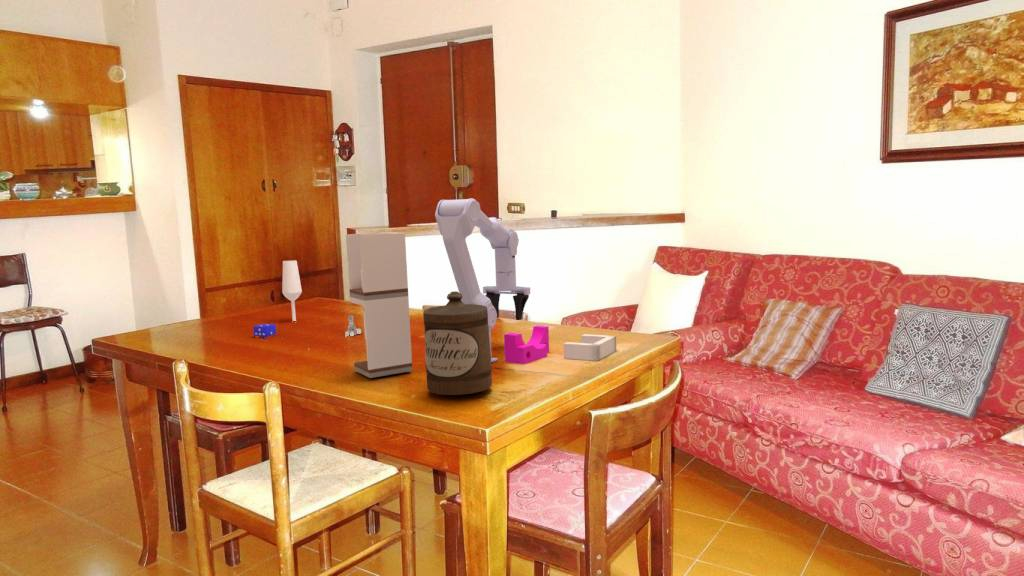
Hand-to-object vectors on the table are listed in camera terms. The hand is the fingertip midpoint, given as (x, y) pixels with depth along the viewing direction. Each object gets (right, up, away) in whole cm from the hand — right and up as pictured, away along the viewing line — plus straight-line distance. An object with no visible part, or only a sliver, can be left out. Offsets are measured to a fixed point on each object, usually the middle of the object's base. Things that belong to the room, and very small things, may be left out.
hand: (507, 319), depth 201 cm
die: (-79, -8, +29) cm, 85 cm away
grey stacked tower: (-32, -12, -21) cm, 40 cm away
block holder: (+22, -9, -11) cm, 27 cm away
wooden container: (-11, -14, -40) cm, 44 cm away
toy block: (+7, -10, -12) cm, 17 cm away
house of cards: (-48, -8, +26) cm, 55 cm away
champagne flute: (-77, -6, +52) cm, 93 cm away
